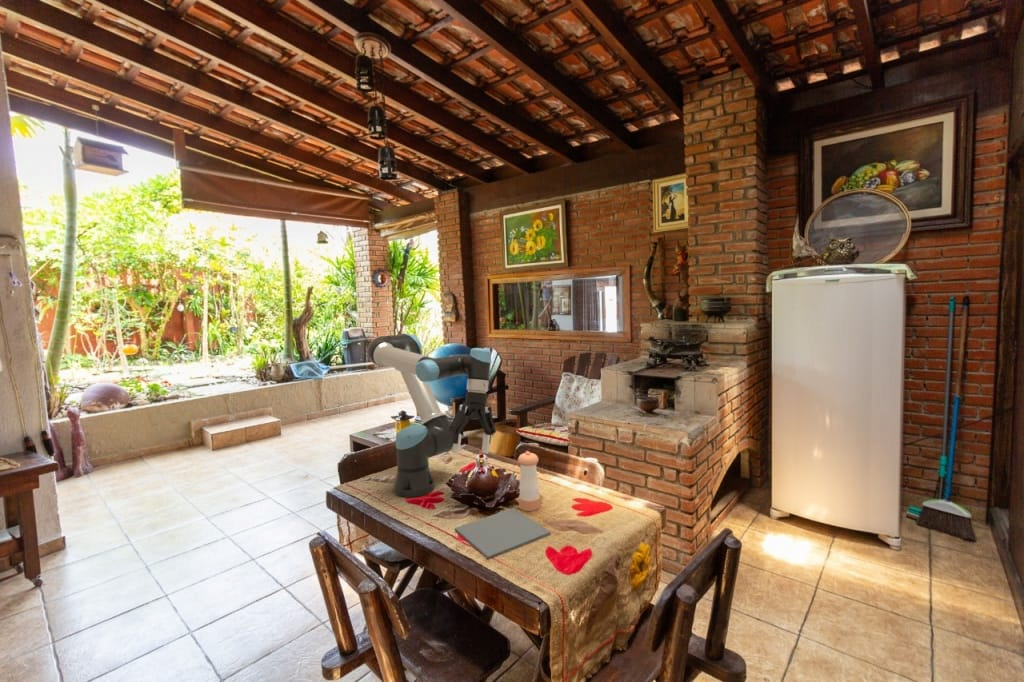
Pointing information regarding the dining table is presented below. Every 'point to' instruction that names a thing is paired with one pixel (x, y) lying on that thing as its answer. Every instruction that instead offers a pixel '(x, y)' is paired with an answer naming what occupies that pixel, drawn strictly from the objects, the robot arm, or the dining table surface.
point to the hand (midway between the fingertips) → (470, 453)
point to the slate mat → (501, 532)
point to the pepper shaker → (528, 482)
